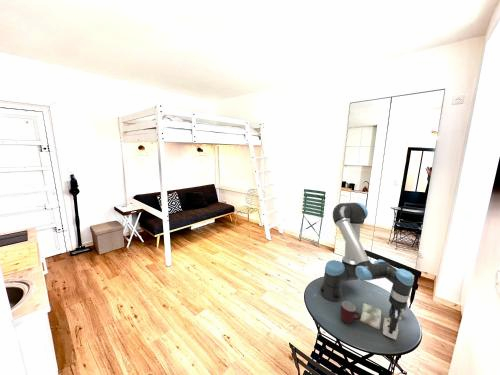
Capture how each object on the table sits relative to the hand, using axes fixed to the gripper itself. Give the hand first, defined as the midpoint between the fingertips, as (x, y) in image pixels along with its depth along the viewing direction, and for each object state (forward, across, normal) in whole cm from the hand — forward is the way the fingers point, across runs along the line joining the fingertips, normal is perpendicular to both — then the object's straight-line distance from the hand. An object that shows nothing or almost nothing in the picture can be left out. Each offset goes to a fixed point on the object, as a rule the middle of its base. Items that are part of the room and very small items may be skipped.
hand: (388, 331), depth 112 cm
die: (0, 0, 0) cm, 0 cm away
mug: (+2, -5, +20) cm, 21 cm away
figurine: (+2, +18, -4) cm, 19 cm away
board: (+1, +8, +9) cm, 12 cm away
